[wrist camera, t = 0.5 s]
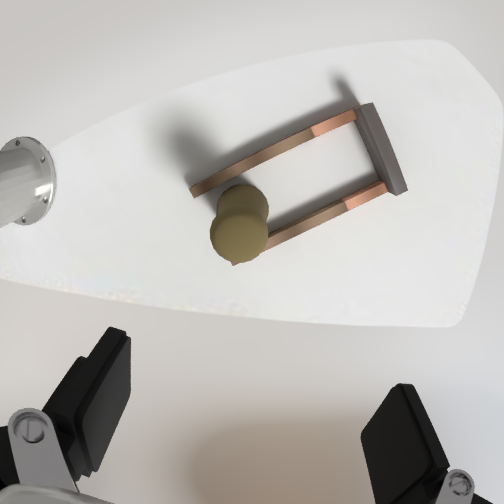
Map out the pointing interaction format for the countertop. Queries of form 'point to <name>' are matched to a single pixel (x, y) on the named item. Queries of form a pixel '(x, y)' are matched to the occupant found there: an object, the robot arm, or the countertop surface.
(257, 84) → the countertop surface
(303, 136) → the guide channel
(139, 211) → the countertop surface
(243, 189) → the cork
